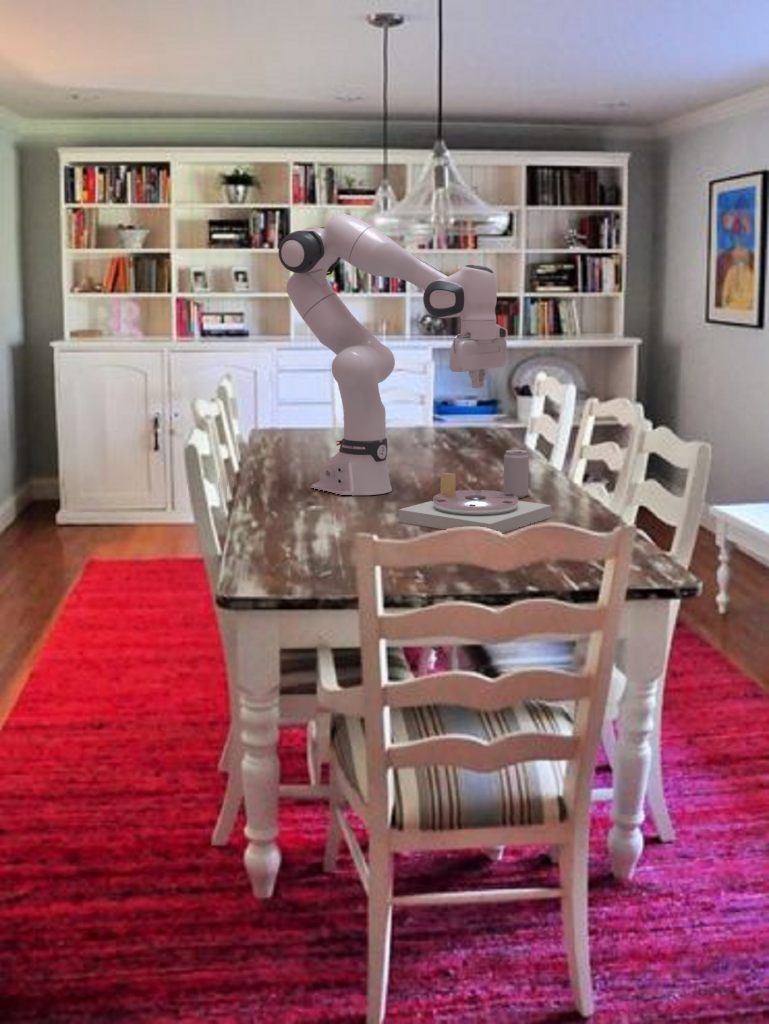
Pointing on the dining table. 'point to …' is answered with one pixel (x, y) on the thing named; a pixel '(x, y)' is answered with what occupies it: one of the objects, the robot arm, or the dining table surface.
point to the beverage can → (516, 472)
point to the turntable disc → (472, 499)
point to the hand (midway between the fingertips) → (477, 387)
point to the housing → (475, 517)
